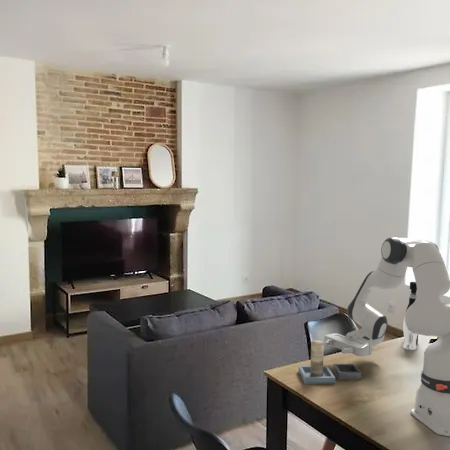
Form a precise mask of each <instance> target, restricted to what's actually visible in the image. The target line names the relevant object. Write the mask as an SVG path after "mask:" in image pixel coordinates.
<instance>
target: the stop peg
mask: <svg viewBox="0 0 450 450" xmlns="http://www.w3.org/2000/svg"><path fill="white" fill-rule="evenodd" d="M310 345H311V346H310V365H309V366H310V376H311V377H323V366H324V353H325V351H324V348H325V346H324V341H322V340H318V339H317V340H315V339H314V340H311V343H310Z"/></svg>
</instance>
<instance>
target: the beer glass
mask: <svg viewBox="0 0 450 450" xmlns="http://www.w3.org/2000/svg"><path fill="white" fill-rule="evenodd" d="M402 322H403V323H402V324H403V325H402V330H403V345H402V348H403V349H404V350H408V351H417V344H416V339H417V335H418V336H419V334H414V333H412V332H411V331H410V330H409V329H408V328H407V326H406V323H405V315H404V317H403V321H402Z"/></svg>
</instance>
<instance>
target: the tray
mask: <svg viewBox="0 0 450 450" xmlns="http://www.w3.org/2000/svg"><path fill="white" fill-rule="evenodd" d="M298 374H299V375H300V377H301V379H302V381H303V383H304V385H327V384H328V385H330V384H331V385H335V384H336V375H335V374H334V372H333V371H331V369H330V368H329V366H328V365H323V377H311V376H310V365H298Z"/></svg>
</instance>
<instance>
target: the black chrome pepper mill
mask: <svg viewBox="0 0 450 450" xmlns="http://www.w3.org/2000/svg"><path fill="white" fill-rule="evenodd" d="M409 290H410V294H409V298H408V305H407V306H406V310H405V312H406V311H407V309H408V308H409V307H410V306H411V305H412V304H413V303H414V302H415V300H416V297H417V285H416V281H410V282H409ZM418 342H419V334H418V335H417V339H416V345H418V344H419V343H418Z"/></svg>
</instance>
